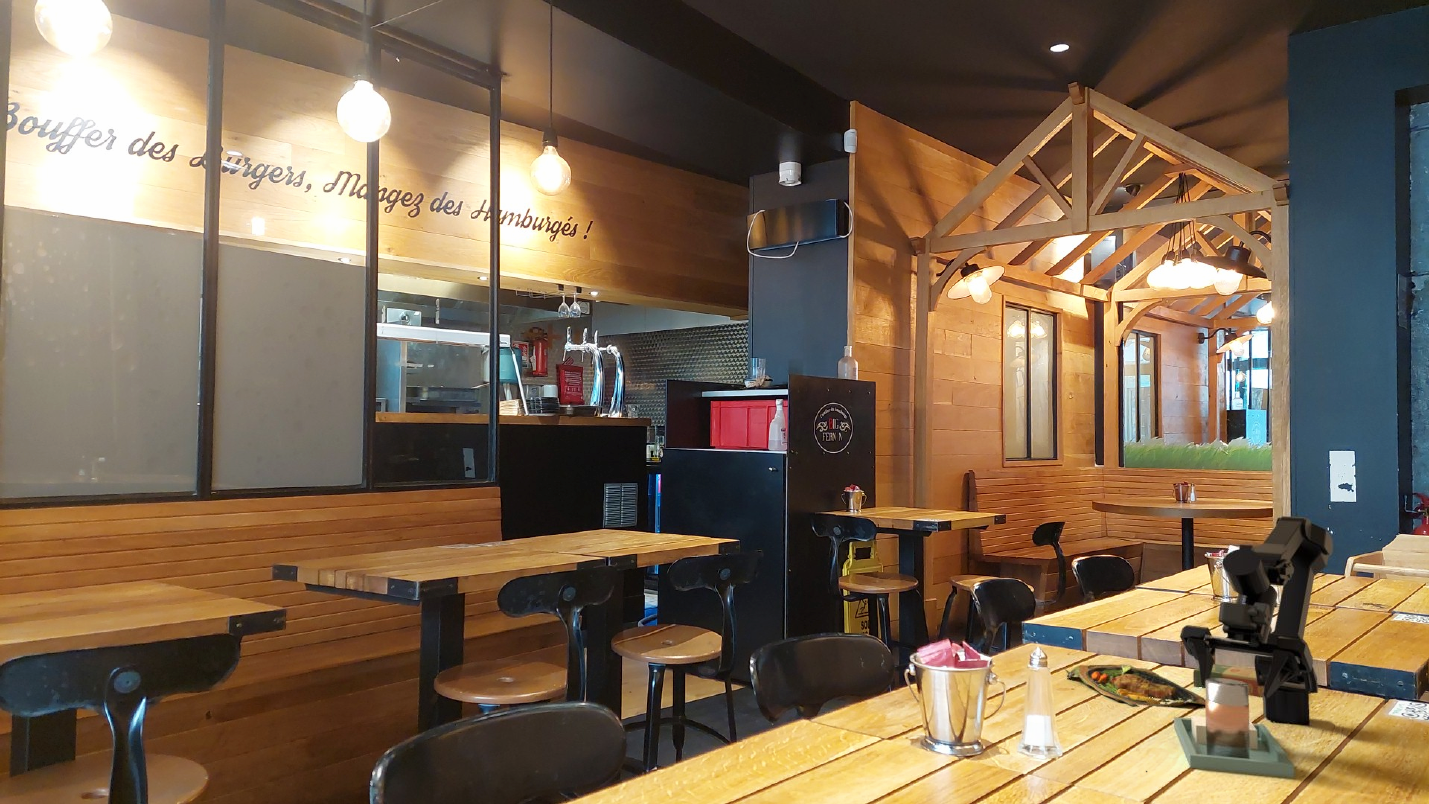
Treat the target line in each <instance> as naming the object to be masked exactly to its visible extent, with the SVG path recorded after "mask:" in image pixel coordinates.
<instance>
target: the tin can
mask: <svg viewBox="0 0 1429 804" xmlns="http://www.w3.org/2000/svg"><path fill="white" fill-rule="evenodd" d="M1249 697H1250V695H1249V690H1248V684H1247V683H1244V682H1241V681H1238V680H1232V679H1224V678H1211V679H1207V680H1206V689H1205V697H1204V699H1205V701H1206V705H1205V717H1206V748H1207V755H1213V756H1223V757H1234V758H1245V759H1250V756H1249V745H1250V732H1249V721H1250V702H1249V701H1250V699H1249Z"/></svg>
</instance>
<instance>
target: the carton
mask: <svg viewBox="0 0 1429 804" xmlns="http://www.w3.org/2000/svg"><path fill="white" fill-rule="evenodd" d="M1192 678H1193V687H1194V688H1199V687H1202V688H1201V689H1204V688H1203V686H1202V684H1201V676H1200V669H1199V666H1198V667H1196V668H1194V669H1193V676H1192ZM1211 678H1224V679H1232V680H1238V681H1241V682H1244V683H1247V684H1248V690H1249V697H1250V696H1251V697H1258V698H1263V693H1264V687H1265V686H1258V684H1257V678H1256V671H1255V668H1250V667H1249V668H1247V667H1240V666H1232V665H1224V664H1216V663H1214V664H1213V668H1212V671H1211V675H1210V679H1211Z"/></svg>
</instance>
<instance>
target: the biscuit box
mask: <svg viewBox="0 0 1429 804" xmlns="http://www.w3.org/2000/svg"><path fill="white" fill-rule="evenodd" d="M1190 718H1191V720H1192V735H1193V737H1194V739H1195V741H1196V743H1197V744H1206V716H1199V715H1191V717H1190ZM1253 724H1254V723H1252V720H1249V732H1250V745H1249V748H1250V749H1258V744H1257V730H1256V728H1255V727H1254V725H1253Z"/></svg>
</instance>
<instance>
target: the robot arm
mask: <svg viewBox="0 0 1429 804" xmlns="http://www.w3.org/2000/svg"><path fill="white" fill-rule="evenodd" d="M1333 542H1334V541H1333V537H1332V536H1331V535H1330V533H1329V532H1328V531H1327V529H1326V528H1324V527H1321V526H1319V525H1316V524H1314V523H1313V522H1311V520H1310V519H1309V518H1305V517H1304V516H1286V515H1284V516H1281V517H1279V516H1278V517H1277V519H1276V522H1275V526H1274V527H1273V529H1272V530H1271V532H1270V533H1269V535H1267V537H1266V538H1265V540H1264V541H1263V542H1262V543H1261V544H1260V545H1251V544H1239V547H1238V549H1235V550H1232V551H1230V552H1228V553H1227V554H1226V555H1225V556H1224V557H1223V558H1222V562H1221V563H1222V568H1223V569H1224V572H1225V574H1226V576H1227V580H1228V582H1229V584H1230V586H1231V588H1232V591H1233V592H1235V593H1237V597H1236V602H1226V601H1221V602H1220V604H1219V611H1218V622H1219V623H1221V624H1222V629H1221V630H1222V631H1223V634H1227V635H1226V637H1223V636H1216V635H1212V632H1211V630H1210V629H1209V627H1206V626H1200V625H1191V624H1190V625H1189V624H1187V625H1185V626H1183V627H1182V629H1181V631H1180V635H1179V638H1180V640H1181V641H1182V643H1183V647H1185V650H1186V652H1187V654H1188V655H1189V656H1191V657H1193V658H1194V659H1195V660H1196V661H1198V667H1199V669H1200V676H1201V684H1202V686H1203V688H1202V689H1205V688H1206V680H1207V679H1210V675H1211V671H1212V668H1213V664H1215V659H1214V658H1213V657H1214V656H1215V653H1216V650H1223V651H1229V652H1238V653H1241V654H1246V655H1253V656H1254V669H1255V671H1256V678H1257V684H1258V686H1265V687H1264V693H1263V697H1262V709H1263V711H1262V712H1263V716H1264V717H1265V719H1266V720H1268V721H1270V723H1272V724H1280V725H1281V724H1283V725H1292V726H1305V727H1313V724H1312V723H1311V721H1310V720H1311V719H1310V695H1311V694H1318V693H1319V684H1318V683H1319V682H1318V676H1317V674H1316V671H1315V668H1314V666H1313V665H1314V658H1313V655H1312V652H1311V649H1310V648H1309V645H1308V643H1307V642H1306V640H1305V639H1304V637H1305V636H1304V635H1305V632H1306V631H1305V630H1306V625H1307V620H1308V613H1309V609H1310V608H1309V607H1310V603H1311V596H1312V591H1313V586H1314V579H1315V576H1317V575H1318V574H1319V573H1321V571H1322V570H1324V569H1325V568H1326V567H1327V565H1328V561H1329V557H1330V556H1332V554H1333V550H1334V543H1333ZM1274 586H1279V587H1282V591H1281V595H1280V600H1279V605H1278V603H1277V602H1278V601H1277V599H1278V592H1277V590H1276V588H1275V587H1274ZM1276 608H1278V611H1277V614H1276V616H1277V617H1276V621H1275V626H1274V630H1273V627H1272V626H1271V625H1272V621H1273V617H1274V613H1275V609H1276Z"/></svg>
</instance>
